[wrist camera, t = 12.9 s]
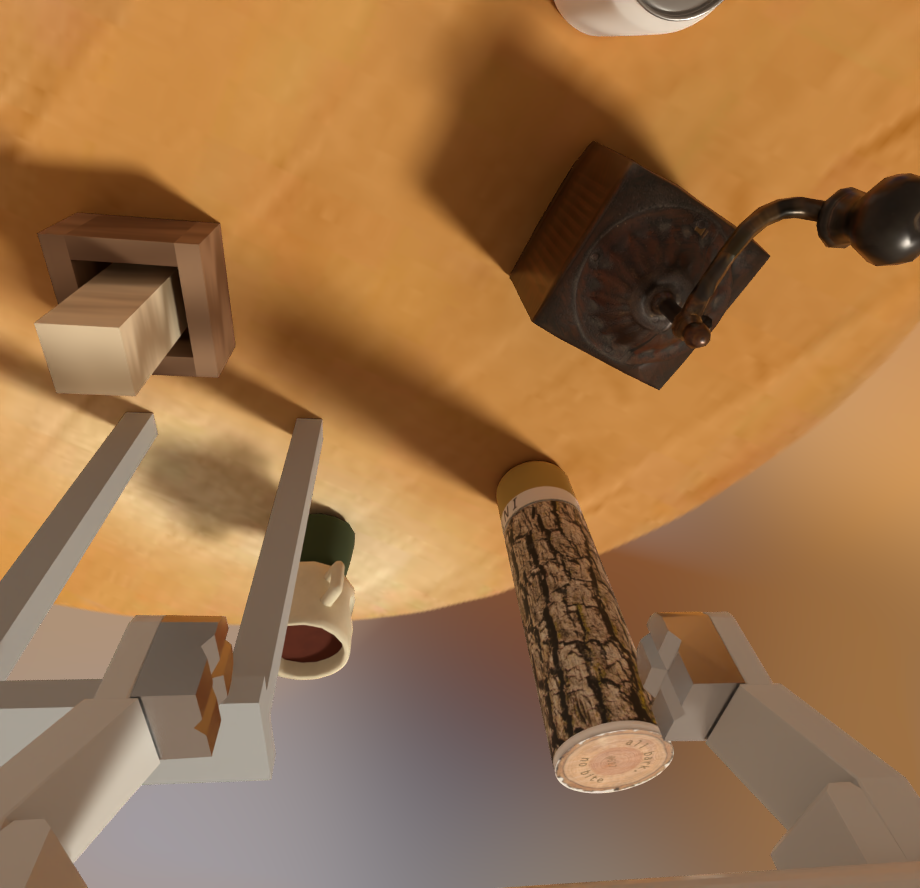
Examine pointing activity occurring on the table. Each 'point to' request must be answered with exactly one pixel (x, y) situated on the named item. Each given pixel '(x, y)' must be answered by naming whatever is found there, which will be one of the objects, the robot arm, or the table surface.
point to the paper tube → (576, 639)
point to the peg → (113, 330)
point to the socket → (153, 243)
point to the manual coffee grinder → (675, 257)
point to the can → (633, 15)
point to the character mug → (320, 602)
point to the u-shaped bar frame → (261, 631)
